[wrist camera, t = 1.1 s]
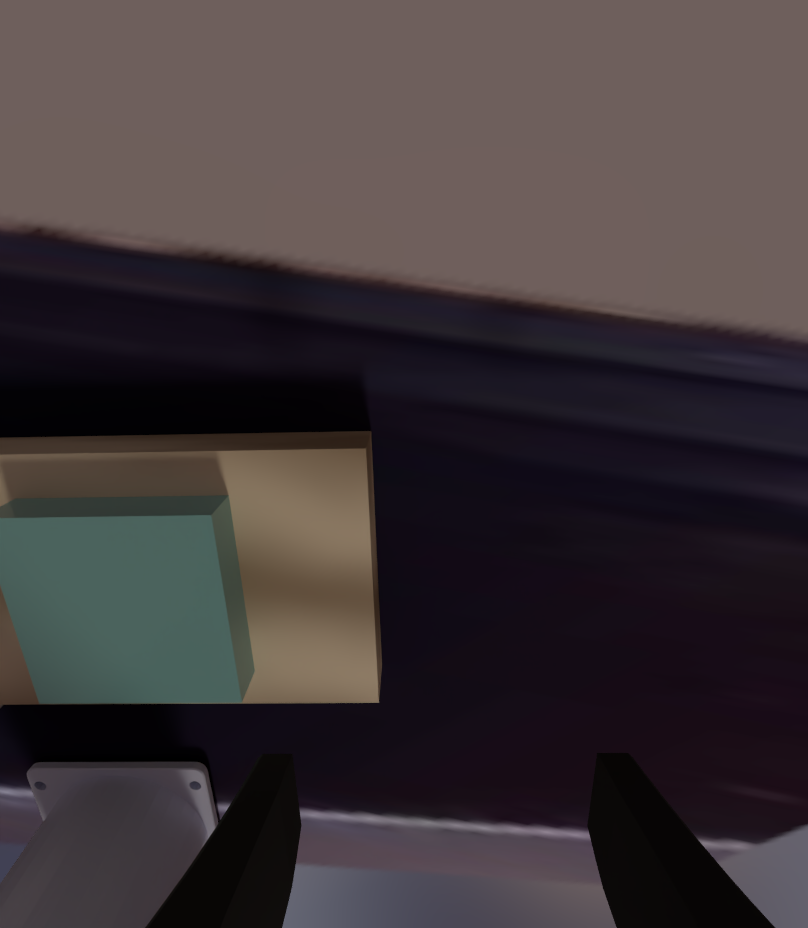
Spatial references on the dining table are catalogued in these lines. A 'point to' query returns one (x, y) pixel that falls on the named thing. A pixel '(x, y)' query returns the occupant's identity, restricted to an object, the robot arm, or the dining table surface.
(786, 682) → the dining table surface
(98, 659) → the tile
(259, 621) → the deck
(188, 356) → the dining table surface
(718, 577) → the dining table surface
